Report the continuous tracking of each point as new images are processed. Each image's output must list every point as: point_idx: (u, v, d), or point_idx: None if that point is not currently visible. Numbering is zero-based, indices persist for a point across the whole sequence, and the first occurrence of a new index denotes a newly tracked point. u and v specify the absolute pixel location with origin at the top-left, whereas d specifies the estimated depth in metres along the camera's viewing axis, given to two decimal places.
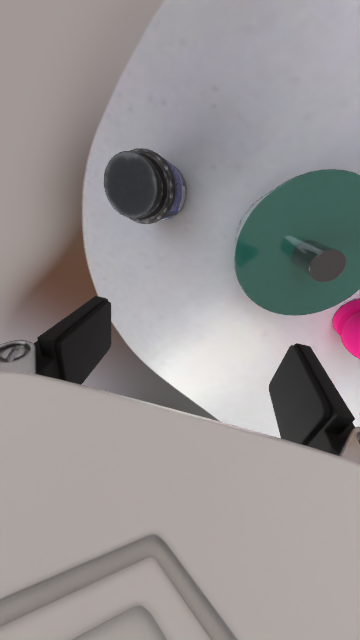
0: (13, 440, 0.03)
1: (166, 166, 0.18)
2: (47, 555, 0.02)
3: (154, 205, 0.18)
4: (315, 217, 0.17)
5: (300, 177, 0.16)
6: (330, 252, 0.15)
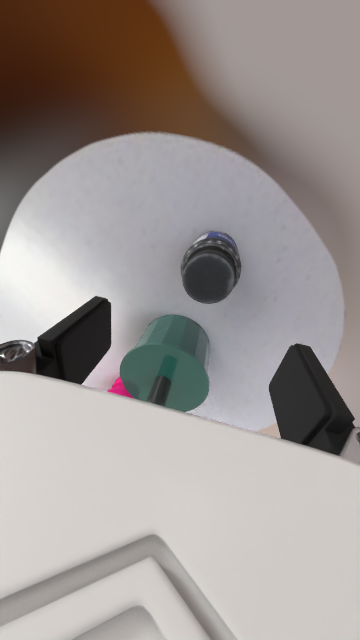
0: (13, 440, 0.03)
1: None
2: (47, 555, 0.02)
3: None
4: (184, 384, 0.28)
5: (206, 377, 0.27)
6: None
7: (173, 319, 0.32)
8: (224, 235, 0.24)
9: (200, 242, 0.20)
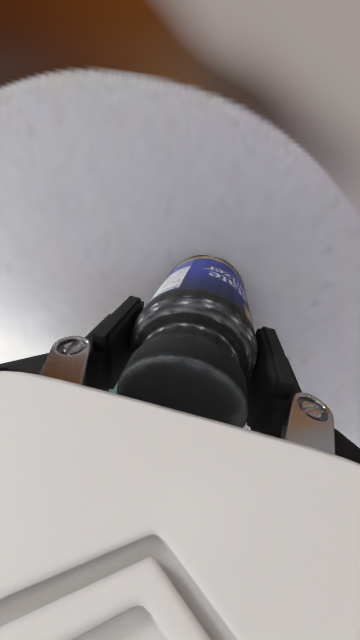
0: (13, 440, 0.03)
1: None
2: (47, 555, 0.02)
3: None
4: None
5: None
6: None
7: None
8: (220, 268, 0.12)
9: (165, 301, 0.09)
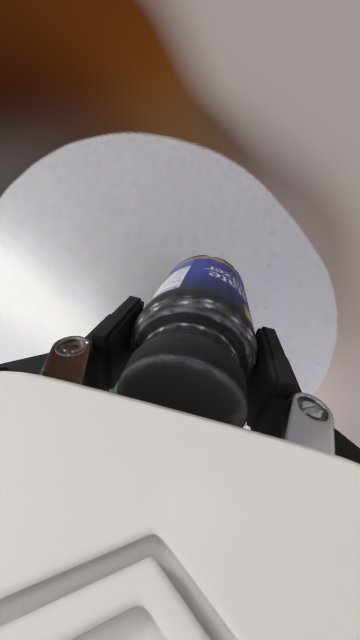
0: (13, 440, 0.03)
1: None
2: (47, 555, 0.02)
3: None
4: None
5: None
6: None
7: None
8: (220, 268, 0.12)
9: (165, 301, 0.09)
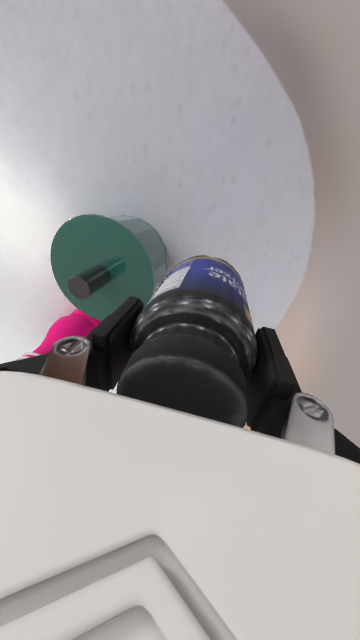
0: (13, 440, 0.03)
1: None
2: (47, 555, 0.02)
3: None
4: (125, 275, 0.24)
5: (148, 259, 0.22)
6: (87, 287, 0.20)
7: None
8: (220, 269, 0.12)
9: (165, 301, 0.09)
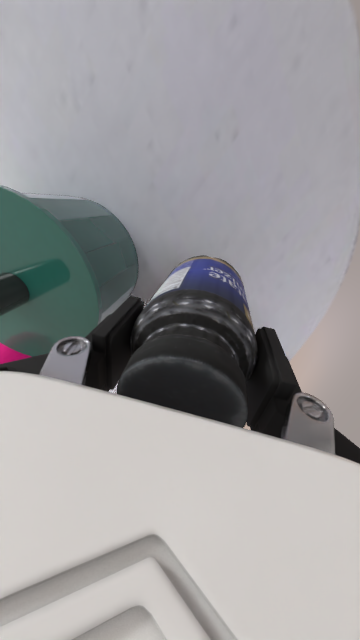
0: (13, 440, 0.03)
1: None
2: (47, 555, 0.02)
3: None
4: (51, 290, 0.14)
5: (83, 263, 0.13)
6: None
7: (60, 195, 0.18)
8: (220, 269, 0.12)
9: (165, 302, 0.09)
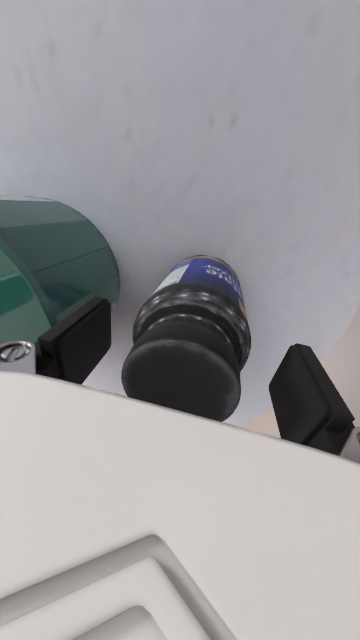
0: (13, 440, 0.03)
1: None
2: (47, 555, 0.02)
3: None
4: None
5: (28, 288, 0.09)
6: None
7: None
8: (217, 267, 0.13)
9: (165, 294, 0.09)
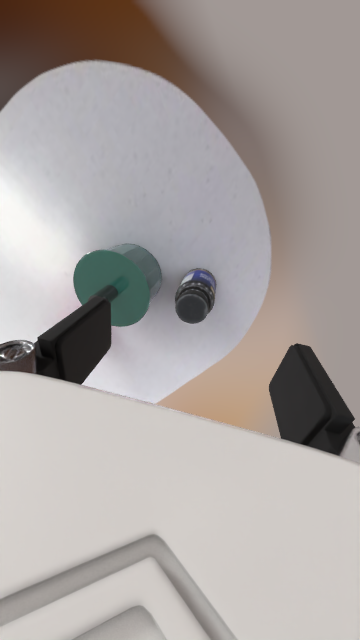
0: (13, 440, 0.03)
1: None
2: (47, 555, 0.02)
3: None
4: (128, 292, 0.32)
5: (145, 281, 0.31)
6: None
7: (124, 244, 0.36)
8: (205, 274, 0.34)
9: (187, 283, 0.31)
